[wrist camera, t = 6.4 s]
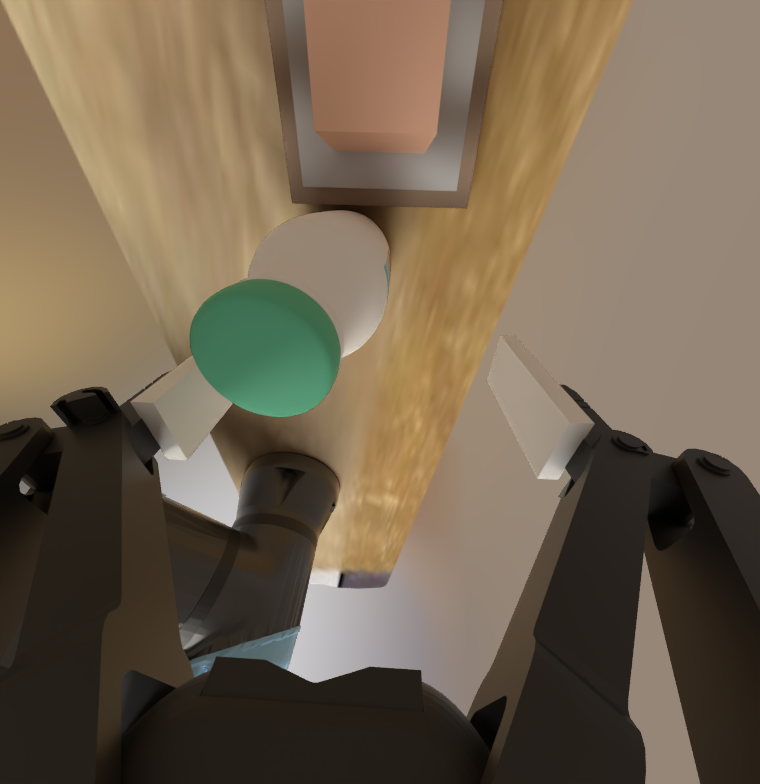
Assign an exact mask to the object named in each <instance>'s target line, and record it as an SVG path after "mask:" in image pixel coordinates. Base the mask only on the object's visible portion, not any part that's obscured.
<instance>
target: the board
mask: <svg viewBox="0 0 760 784" xmlns="http://www.w3.org/2000/svg"><path fill="white" fill-rule="evenodd" d="M265 4H266V11H267V19H268V26H269V34H270V41H271V49H272V56H273V64H274V71H275V79H276V86H277V94H278V101H279V108H280V116H281V123H282V131H283V138H284V146H285V153H286V161H287V168H288V176H289V183H290V191H291V198H292V203H300V204H334V205H368V206H402V207H436V208H467V206H468V200H469V195H470V189H471V183H472V177H473V171H474V166H475V160H476V154H477V148H478V143H479V137H480V131H481V125H482V119H483V114H484V108H485V102H486V96H487V91H488V85H489V79H490V73H491V68H492V62H493V56H494V50H495V44H496V39H497V33H498V27H499V21H500V16H501V10H502V4H503V0H451V4H450V14H449V23H448V33H447V42H446V52H445V61H444V70H443V80H442V89H441V99H440V108H439V118H438V127H437V134H436V136H435V138H434V139H433V141H432V142H431V144H430V145H429V147H428V149H427V150H426V152H425V153H424V154H421V153H383V152H345V151H335V150H334V149H332V148H331V147H330V146H329V145H328V144H327V143H326V142H325V141H324V140H323V139H322V138H321V137H320V136H319V135H318V134H317V133H316V132H315V131H314V121H313V109H312V97H311V85H310V73H309V62H308V50H307V38H306V26H305V14H304V2H303V0H265Z"/></svg>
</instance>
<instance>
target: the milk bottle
mask: <svg viewBox="0 0 760 784" xmlns="http://www.w3.org/2000/svg"><path fill="white" fill-rule="evenodd" d="M390 270H391V257H390V250H389V246H388V243H387V240H386V238H385V236H384V234H383V233H382V231H381V230H380V228H379V227H378V226H377V225H376V224H375V223H374V222H373V221H372V220H371V219H369V218H368V217H366V216H365V215H363V214H360V213H358V212H354V211H348V210H336V211H325V212H317V213H310V214H306V215H302V216H299V217H295V218H293V219H290V220H288V221H286V222H284V223H282V224H281V225H280V226H278V227H277V228H275V229H274V230H273V231H271V232H270V233H269V234H268V235H267V236H266V237H265V239H264V240H263V241H262V242H261V244H260V245H259V247H258V248H257V250H256V252H255V254H254V256H253V259H252V261H251V264H250V267H249V271H248V278H245V279H243V280H241V281H240V282H238V283H236V284H233V285H231V286H228V287H226V288H224V289H222V290H221V291H219V292H217V293H216V294H214V295H213V296H211V297H210V298H209V299H207V300H206V301H205V302H204V303H203V305H202V306H201V307H200V308H199V310H198V311H197V313H196V315H195V316H194V319H193V321H192V324H191V328H190V347H191V351H192V355H193V358H194V360H195V362H196V365H197V367H198V368H199V370H200V372H201V373H202V375H203V376H204V378H205V379H206V380H207V381H208V383H209V384H210V385H211V386H212V387H213V388H214V389H215V390H216V391H217V392H218V393H220V394H221V395H222V396H223V397H225V398H226V399H227V400H229V401H230V402H232V403H234V404H235V405H237V406H239V407H241V408H243V409H245V410H248V411H251V412H254V413H257V414H261V415H265V416H272V417H289V416H295V415H299V414H302V413H304V412H307V411H309V410H311V409H312V408H314V407H315V406H317V405H318V404H319V403H320V402H321V401H322V400H323V399H324V398H325V397H326V395H327V394H328V393H329V391H330V389H331V387H332V385H333V383H334V381H335V378H336V376H337V372H338V369H339V365H340V363H341V361H342V357H345V356H347V355H349V354H351V353H353V352H354V351H356V350H357V349H359V348H360V347H361V346H362V345H364V344H365V343H366V342H367V341H368V339H369V338H370V337H371V336H372V335H373V333H374V332H375V331H376V329H377V327H378V325H379V323H380V321H381V319H382V317H383V314H384V311H385V307H386V303H387V298H388V292H389V282H390Z"/></svg>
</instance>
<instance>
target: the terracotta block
mask: <svg viewBox="0 0 760 784" xmlns="http://www.w3.org/2000/svg"><path fill="white" fill-rule="evenodd" d="M303 2H304V14H305V26H306V38H307V50H308V62H309V73H310V85H311V97H312V109H313V121H314V131H315V132H316V133H317V134H318V135H319V136H320V137H321V138H322V139H323V140H324V141H325V142H326V143H327V144H328V145H329V146H330V147H331V148H332V149H334V150H335V151H345V152H383V153H421V154H424V153H425V152H426V150H427V149H428V147H429V145H430V144H431V142H432V141H433V139H434V138H435V136H436V134H437V127H438V118H439V108H440V99H441V89H442V80H443V70H444V61H445V52H446V42H447V33H448V23H449V14H450V4H451V0H303Z"/></svg>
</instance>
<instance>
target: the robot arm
mask: <svg viewBox="0 0 760 784" xmlns="http://www.w3.org/2000/svg"><path fill="white" fill-rule="evenodd" d="M487 382H488V384H489V386H490V388H491V390H492V392H493V394H494V396H495V398H496V400H497V402H498V404H499V405H500V407H501V409H502V411H503V413H504V415H505V417H506V419H507V421H508V423H509V425H510V427H511V429H512V431H513V432H514V435H515V437H516V439H517V440H518V442H519V444H520V446H521V448H522V450H523V452H524V454H525V456H526V458H527V460H528V462H529V464H530V466H531V467H532V470H533V471H534V473H535V475H536V477H537V478H539V479H559V478H560V476H561V474H562V473H563V471H564V470H565V468H566V470H567V472H568V473H569V474H570V476H571V479H570V480H569V482H568V483H567V485H566V486H565V487H564V489H563V490H562V492H561V493H560V495H559V496H558V497H560V498H561V500H560V502H559V505H558V507H557V509H556V512H555V514H554V517H553V519H552V522H551V524H550V526H549V529H548V531H547V534H546V536H545V538H544V541H543V543H542V546H541V548H540V551H539V553H538V555H537V558H536V560H535V563H534V565H533V568H532V570H531V572H530V575H529V577H528V580H527V582H526V584H525V587H524V589H523V592H522V594H521V597H520V599H519V601H518V604H517V606H516V609H515V611H514V614H513V616H512V618H511V621H510V623H509V626H508V628H507V631H506V633H505V636H504V638H503V640H502V643H501V645H500V648H499V650H498V652H497V655H496V657H495V660H494V662H493V664H492V666H491V668H490V670H489V672H488V673H487V675H486V677H485V678H484V680H483V682H482V684H481V686H480V688H479V690H478V692H477V694H476V696H475V699H474V701H473V703H472V705H471V708H470V710H469V712H468V715H467V717H466V716H465V715H464V714H463V713H462V712H461V711H460V710H459V709H458V708H457V706H456V705H455V704H453V703H452V702H451V701H450V700H449V699H448V698H446V696H444V695H443V694H442V693H440V692H439V691H437V690H436V689H434V688H433V687H431V686H429V685H428V684H425V683H423V682H422V679H421V670H408V669H395V668H380V667H368V668H365V669H362V670H358V671H355V672H352V673H349V674H345V675H342V676H339V677H335V678H332V679H329V680H325V681H322V682H319V683H313V682H310V681H307V680H305V679H303V678H301V677H299V676H297V675H295V674H293V673H291V672H289V671H287V668H288V666H289V664H290V660H291V656H292V653H293V649H294V646H295V642H296V639H297V635H298V632H299V631H300V627H301V626H300V621H301V616H302V612H303V607H304V602H305V597H306V593H307V588H308V584H309V579H310V574H311V570H312V565H313V560H314V556H315V551H316V546H317V542H318V538H319V536H320V534H321V532H322V530H323V529H324V527H325V525H326V523H327V521H328V520H329V518H330V516H331V513H332V512H333V511H334V509H335V507H336V505H337V501H338V496H339V491H340V486H339V482H338V479H337V477H336V476H335V475H334V473H333V472H332V471H331V470H330V469H329V468H328V467H326V466H325V465H323V464H322V463H320V462H318V461H317V460H314V459H312V458H310V457H307V456H303V455H299V454H294V453H272V454H267V455H264V456H262V457H259V458H258V459H256V460H255V461H253V462H252V463H251V465H250V466H249V468H248V470H247V471H246V473H245V475H244V477H243V480H242V483H241V491H240V496H239V503H238V510H237V517H236V520H235V522H234V524H233V526H232V528H231V527H228V526H227V525H225V524H223V523H220V522H218V521H216V520H214V519H212V518H210V517H207V516H206V515H203V514H201V513H199V512H197V511H195V510H192V509H191V508H188V507H186V506H184V505H182V504H180V503H178V502H175V501H173V500H171V499H169V498H167V497H165V496H166V495H165V494H163V493H161V485H160V477H159V470H158V463H157V461H156V459H155V458H154V455H155V454H156V452H157V451H158V450H159V449H161V450H162V452H163V453H164V455H165V456H166V457H167V459H171V460H188V459H189V458H190V456H191V455H192V454H193V453H194V451H195V450H196V449H197V448H198V446H199V445H200V444H201V443H202V441H203V440H204V439H205V438H206V436H207V435H208V434H209V433H210V432H211V430H212V429H213V428H214V427H215V425H216V424H217V423H218V422H219V420H220V419H221V418H222V417H223V415H224V414H225V413H226V412H227V410H228V409H229V408H230V407H231V405H232V404H233V403H232V402H230V401H229V400H227V399H226V398H225V397H223V396H222V395H221V394H220V393H218V392H217V391H216V390H215V389H214V388H213V387H212V386H211V385H210V384H209V383H208V381H207V380H206V379H205V378H204V376H203V375H202V373H201V372H200V370H199V368H198V367H197V365H196V362H195V360H194V358H193V355H191V356H190V357H189V358H187V359H186V360H185V361H184V362H182V363H181V364H180V365H178V366H177V367H176V368H174V369H173V370H171V371H169V372H167V373H165V374H163V375H161V376H160V377H159V378H157V379H156V380H155V381H153V383H151V384H149V385H148V386H147V387H145V389H142V390H141V391H140V392H138V393H137V394H136V395H134V396H133V397H132V398H130V399H129V400H128V401H126V402H125V403H124V404H122V405H121V406H120V407H119V406H118V404H117V403H116V401H115V400H114V398H113V397H112V396H111V394H110V393H109V391H108V390H107V388H103V387H90V388H85V389H81V390H77V391H74V392H71V393H69V394H67V395H64V396H62V397H60V398H59V399H57V400H56V401H54V402H53V404H52V405H51V406H50V407H51V408H52V409H53V410H54V411H55V413H56V414H57V415H58V416H59V417H60V418H61V419H62V421H63V422H64V423H65V424H66V425H67V426H66V427H60V428H53V429H51V428H50V427H49V426H48V425H47V424H46V423H45V422H44V421H43V420H42V419H41V418H26V419H22V420H18V421H12V422H9V423H8V424H7V423H6V424H3V425H1V426H0V784H645V776H646V761H645V747H644V743H643V739H642V736H641V732H640V731H639V729H638V728H637V727H636V725H635V724H634V723H633V721H632V720H631V718H630V716H629V711H628V695H629V687H630V686H629V685H630V677H631V668H632V658H633V648H634V639H635V629H636V620H637V611H638V601H639V591H640V582H641V572H642V563H643V553H645V556H646V561H647V565H648V569H649V573H650V577H651V581H652V586H653V590H654V594H655V598H656V602H657V606H658V610H659V615H660V619H661V623H662V627H663V631H664V635H665V640H666V643H667V648H668V652H669V656H670V660H671V664H672V668H673V673H674V677H675V681H676V685H677V689H678V693H679V697H680V702H681V705H682V710H683V714H684V718H685V722H686V726H687V731H688V735H689V739H690V743H691V747H692V751H693V755H694V759H695V764H696V767H697V771H698V776H699V780H700V784H760V495H759V493H758V492H757V490H756V489H755V488H754V486H753V485H752V483H751V482H750V480H749V479H748V477H747V476H746V475H745V474H744V473H743V472H742V471H741V470H740V469H739V468H738V467H737V466H735V465H734V464H732V463H731V462H730V461H729V460H727V459H725V458H722V457H721V456H719V455H716V454H713V453H710V452H707V451H704V450H699V449H687V450H685V451H684V452H683V453H682V454H681V455H680V456H679V457H678V458H673V457H668V456H665V455H661V454H657V453H653V451H652V449H651V448H650V447H649V446H648V445H647V444H646V443H644V442H643V441H642V440H640V439H639V438H637V437H635V436H633V435H631V434H628V433H625V432H622V431H618V430H612V429H611V428H610V427H609V426H608V425H607V424H606V423H605V422H604V421H603V420H602V419H601V417H600V416H599V415H598V414H597V413H596V412H595V411H594V410H593V409H590V406H589V405H588V404H587V403H586V402H584V400H583V399H582V398H581V397H580V396H579V395H578V393H577V392H575V391H574V390H572V389H570V388H569V387H567V386H566V385H559V384H558V382H557V381H556V380H555V379H554V378H553V377H552V376H551V375H550V374H549V372H548V371H547V370H546V369H545V368H544V367H543V366H542V365H541V364H540V363H539V361H538V360H537V359H536V358H535V357H534V356H533V355H532V354H531V353H530V352H529V350H528V349H527V348H526V347H525V346H524V345H523V344H522V343H521V341H520V340H519V339H518V338H517V337H516V336H503V335H500V338H499V342H498V345H497V348H496V352H495V355H494V358H493V361H492V365H491V368H490V372H489V375H488V378H487ZM21 480H22V481H23V482H24V483H25V484H27V485H28V486H29V487H30V489H29V490H28V492H27V493H26V494H25V495H24V494H22V493H21V492H20V488H19V483H20V481H21Z"/></svg>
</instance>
